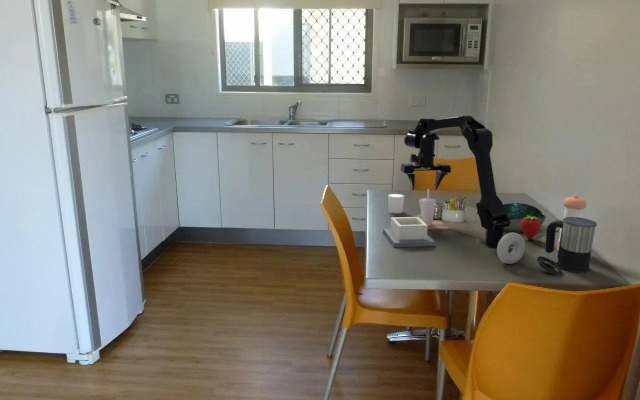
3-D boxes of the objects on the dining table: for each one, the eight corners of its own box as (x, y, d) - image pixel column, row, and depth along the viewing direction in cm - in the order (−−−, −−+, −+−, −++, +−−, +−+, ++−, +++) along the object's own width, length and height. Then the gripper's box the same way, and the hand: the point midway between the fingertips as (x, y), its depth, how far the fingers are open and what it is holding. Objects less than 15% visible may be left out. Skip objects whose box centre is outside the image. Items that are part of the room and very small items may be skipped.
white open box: (434, 245, 179) (435, 227, 177) (394, 247, 177) (395, 228, 176) (420, 231, 194) (421, 214, 193) (382, 232, 193) (383, 215, 191)
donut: (518, 259, 167) (521, 229, 165) (526, 263, 164) (529, 232, 162) (492, 263, 163) (495, 232, 161) (500, 267, 160) (503, 236, 158)
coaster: (448, 229, 197) (448, 228, 197) (420, 230, 196) (420, 229, 196) (439, 221, 208) (439, 220, 208) (411, 221, 207) (411, 220, 206)
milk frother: (591, 265, 163) (598, 219, 159) (586, 283, 150) (593, 233, 146) (542, 256, 170) (548, 212, 166) (533, 272, 157) (538, 224, 153)
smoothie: (421, 227, 198) (422, 190, 195) (416, 222, 204) (416, 187, 202) (438, 226, 199) (438, 189, 196) (432, 222, 205) (433, 186, 202)
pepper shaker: (566, 255, 171) (574, 198, 166) (551, 248, 178) (558, 193, 173) (585, 253, 173) (593, 197, 168) (569, 246, 180) (577, 192, 175)
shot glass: (385, 213, 219) (386, 196, 217) (388, 208, 225) (389, 192, 224) (402, 214, 217) (403, 197, 215) (404, 210, 223) (405, 194, 222)
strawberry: (530, 243, 183) (533, 215, 180) (514, 237, 189) (517, 210, 187) (543, 241, 185) (546, 214, 182) (527, 235, 192) (530, 208, 189)
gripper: (443, 147, 213) (440, 184, 216) (397, 147, 210) (396, 185, 214) (453, 151, 202) (450, 191, 206) (405, 151, 200) (403, 192, 204)
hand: (424, 189), depth 208 cm, fingers open, 9 cm apart
